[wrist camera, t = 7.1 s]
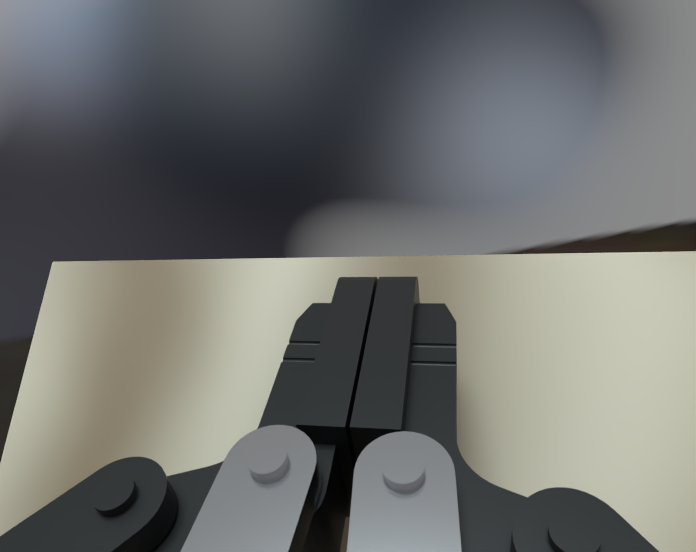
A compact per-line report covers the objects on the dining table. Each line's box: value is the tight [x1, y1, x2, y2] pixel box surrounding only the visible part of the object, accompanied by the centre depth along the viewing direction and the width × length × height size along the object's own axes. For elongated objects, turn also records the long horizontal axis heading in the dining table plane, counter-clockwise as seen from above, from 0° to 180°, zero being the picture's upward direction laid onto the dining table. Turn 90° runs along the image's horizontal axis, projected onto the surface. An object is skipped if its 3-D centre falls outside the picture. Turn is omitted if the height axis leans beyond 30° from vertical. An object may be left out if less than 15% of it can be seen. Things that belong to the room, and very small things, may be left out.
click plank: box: [0, 251, 696, 552], centre depth 11 cm, size 16×9×2 cm
